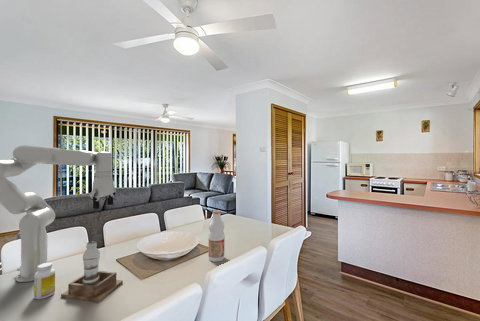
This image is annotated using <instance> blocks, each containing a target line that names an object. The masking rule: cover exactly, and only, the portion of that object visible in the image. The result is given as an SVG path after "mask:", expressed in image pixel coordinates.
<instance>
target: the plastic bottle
mask: <svg viewBox="0 0 480 321" xmlns="http://www.w3.org/2000/svg"><path fill="white" fill-rule="evenodd" d="M85 248H86V250H85V251H84V252H83V255H82V260H83V275H84V278H83V283H82V284H85V285H94V286H96V285H97V284H98V283H100V277H99V271H100V269H99V268H100V267H99V265H100V257H101V252H100V249H99V248H97V241H96V240H95V241H94V240H92V241H88V242H87V243H86V247H85Z"/></svg>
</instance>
